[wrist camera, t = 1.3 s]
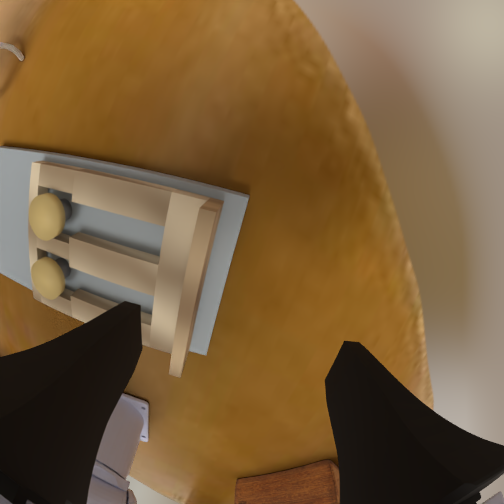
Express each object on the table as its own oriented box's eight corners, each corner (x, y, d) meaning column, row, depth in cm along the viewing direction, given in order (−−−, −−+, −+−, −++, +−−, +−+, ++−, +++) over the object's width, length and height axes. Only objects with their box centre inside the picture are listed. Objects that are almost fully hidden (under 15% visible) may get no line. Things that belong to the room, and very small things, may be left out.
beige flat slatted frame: (189, 347, 19) (180, 377, 16) (41, 291, 18) (20, 310, 15) (224, 200, 15) (216, 212, 12) (42, 160, 14) (12, 165, 11)
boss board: (208, 345, 21) (200, 378, 17) (2, 265, 19) (-21, 279, 15) (249, 195, 17) (247, 205, 13) (2, 145, 15) (-26, 149, 11)
